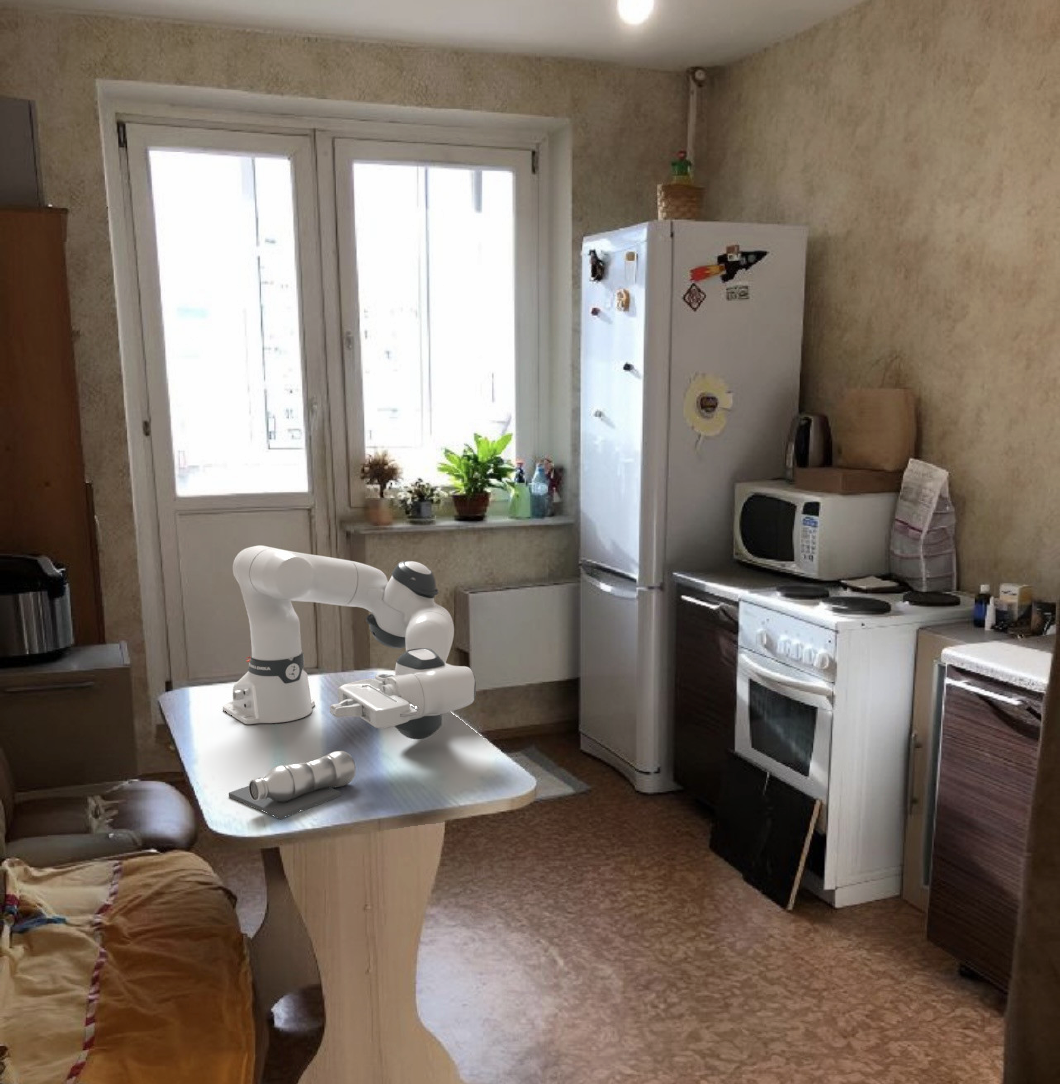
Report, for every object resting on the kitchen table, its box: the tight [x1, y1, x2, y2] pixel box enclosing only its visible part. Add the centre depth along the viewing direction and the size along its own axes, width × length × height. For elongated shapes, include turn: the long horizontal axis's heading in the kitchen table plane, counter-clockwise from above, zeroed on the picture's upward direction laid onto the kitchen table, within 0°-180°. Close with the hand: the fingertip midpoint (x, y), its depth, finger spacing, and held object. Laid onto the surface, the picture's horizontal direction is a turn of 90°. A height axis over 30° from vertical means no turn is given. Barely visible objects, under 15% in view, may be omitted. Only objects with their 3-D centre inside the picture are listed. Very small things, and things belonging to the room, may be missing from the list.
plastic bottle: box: [248, 750, 357, 802], centre depth 178 cm, size 6×7×20 cm
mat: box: [228, 785, 342, 820], centre depth 179 cm, size 16×13×1 cm
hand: (332, 711), depth 183 cm, fingers closed
